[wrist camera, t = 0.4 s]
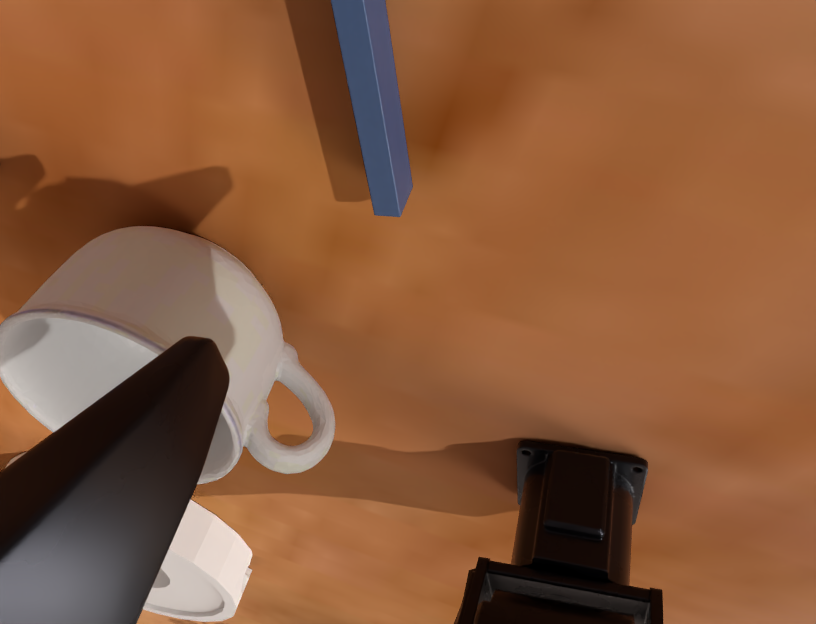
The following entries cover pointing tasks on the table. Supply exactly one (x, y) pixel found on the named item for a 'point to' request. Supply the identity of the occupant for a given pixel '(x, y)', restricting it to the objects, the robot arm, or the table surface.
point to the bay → (375, 101)
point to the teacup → (160, 340)
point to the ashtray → (200, 569)
